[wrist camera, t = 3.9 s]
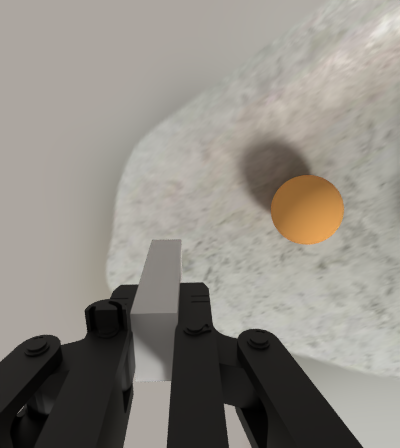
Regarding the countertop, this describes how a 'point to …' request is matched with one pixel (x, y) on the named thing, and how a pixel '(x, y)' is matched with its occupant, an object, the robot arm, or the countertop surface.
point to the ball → (307, 209)
